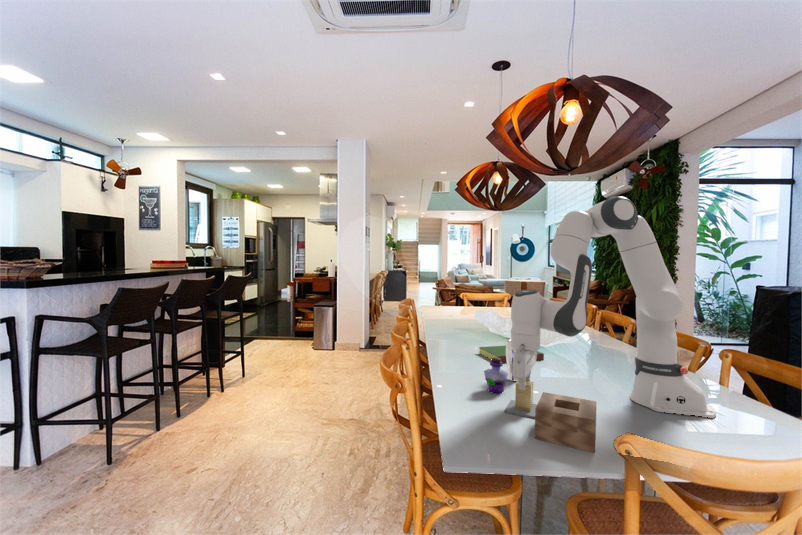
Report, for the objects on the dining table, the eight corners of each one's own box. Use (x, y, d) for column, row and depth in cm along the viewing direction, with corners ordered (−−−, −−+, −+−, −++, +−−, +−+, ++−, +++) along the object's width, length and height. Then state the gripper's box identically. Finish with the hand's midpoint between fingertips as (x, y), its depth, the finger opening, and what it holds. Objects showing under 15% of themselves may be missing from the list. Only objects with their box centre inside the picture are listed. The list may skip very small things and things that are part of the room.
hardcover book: (498, 364, 167) (498, 356, 167) (478, 354, 185) (478, 347, 185) (545, 361, 174) (545, 353, 174) (521, 351, 192) (522, 344, 192)
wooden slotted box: (595, 429, 102) (596, 401, 102) (594, 452, 89) (595, 420, 89) (542, 418, 108) (543, 392, 108) (534, 438, 96) (535, 408, 96)
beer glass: (524, 383, 140) (525, 344, 140) (505, 381, 142) (506, 343, 142) (522, 377, 147) (523, 340, 147) (504, 376, 149) (505, 339, 148)
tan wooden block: (532, 406, 116) (533, 381, 116) (530, 412, 112) (530, 386, 112) (518, 404, 118) (518, 379, 118) (515, 408, 114) (515, 383, 114)
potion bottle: (481, 393, 129) (482, 359, 128) (485, 385, 137) (485, 353, 136) (507, 397, 126) (507, 362, 125) (509, 388, 134) (509, 356, 134)
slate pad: (543, 407, 117) (543, 405, 117) (538, 419, 108) (538, 417, 108) (511, 401, 122) (511, 399, 122) (504, 412, 113) (504, 410, 113)
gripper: (530, 349, 104) (529, 398, 104) (540, 337, 122) (540, 378, 122) (507, 347, 107) (506, 394, 107) (521, 335, 125) (520, 375, 125)
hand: (524, 385), depth 115 cm, fingers open, 6 cm apart
